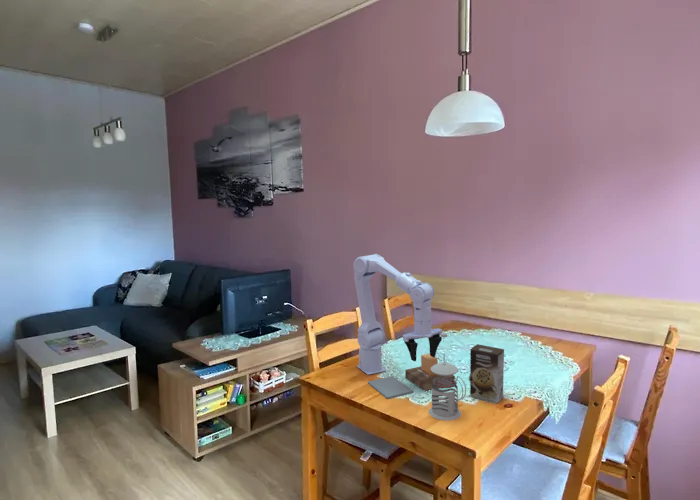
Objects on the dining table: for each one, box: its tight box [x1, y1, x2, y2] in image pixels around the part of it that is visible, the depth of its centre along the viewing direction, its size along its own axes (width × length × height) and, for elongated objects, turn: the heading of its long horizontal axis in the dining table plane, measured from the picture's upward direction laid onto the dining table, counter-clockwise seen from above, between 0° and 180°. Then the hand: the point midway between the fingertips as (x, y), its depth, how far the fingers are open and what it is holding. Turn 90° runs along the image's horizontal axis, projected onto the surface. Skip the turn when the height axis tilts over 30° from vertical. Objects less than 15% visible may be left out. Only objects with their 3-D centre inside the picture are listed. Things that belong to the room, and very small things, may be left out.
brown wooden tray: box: [404, 365, 456, 392], centre depth 156 cm, size 13×12×4 cm
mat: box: [367, 375, 414, 400], centre depth 151 cm, size 14×10×1 cm
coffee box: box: [469, 343, 505, 404], centre depth 141 cm, size 9×6×16 cm
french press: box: [428, 331, 467, 422], centre depth 131 cm, size 10×12×25 cm
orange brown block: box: [420, 353, 439, 377], centre depth 155 cm, size 5×4×9 cm
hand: (423, 358), depth 150 cm, fingers open, 7 cm apart
